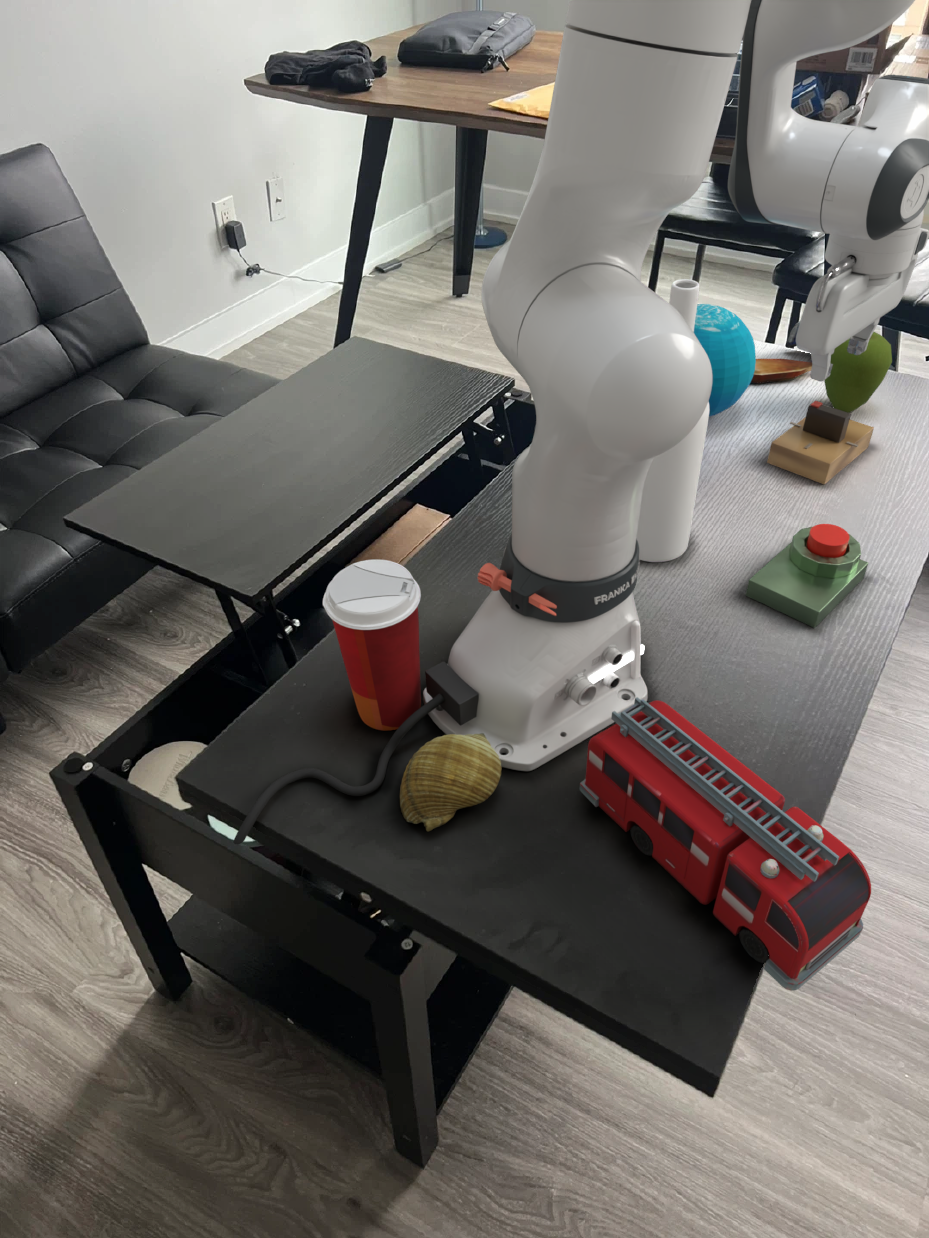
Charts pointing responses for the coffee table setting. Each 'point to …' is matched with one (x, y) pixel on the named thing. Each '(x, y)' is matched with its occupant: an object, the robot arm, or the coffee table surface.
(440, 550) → the coffee table surface
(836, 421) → the knob
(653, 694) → the coffee table surface
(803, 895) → the toy
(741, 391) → the decorative orb
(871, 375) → the apple
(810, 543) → the lamp button
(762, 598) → the green lamp base
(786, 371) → the wooden boat shaped bowl
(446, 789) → the seashell
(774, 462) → the panel
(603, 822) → the coffee table surface
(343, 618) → the coffee cup
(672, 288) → the bottle
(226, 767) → the coffee table surface
